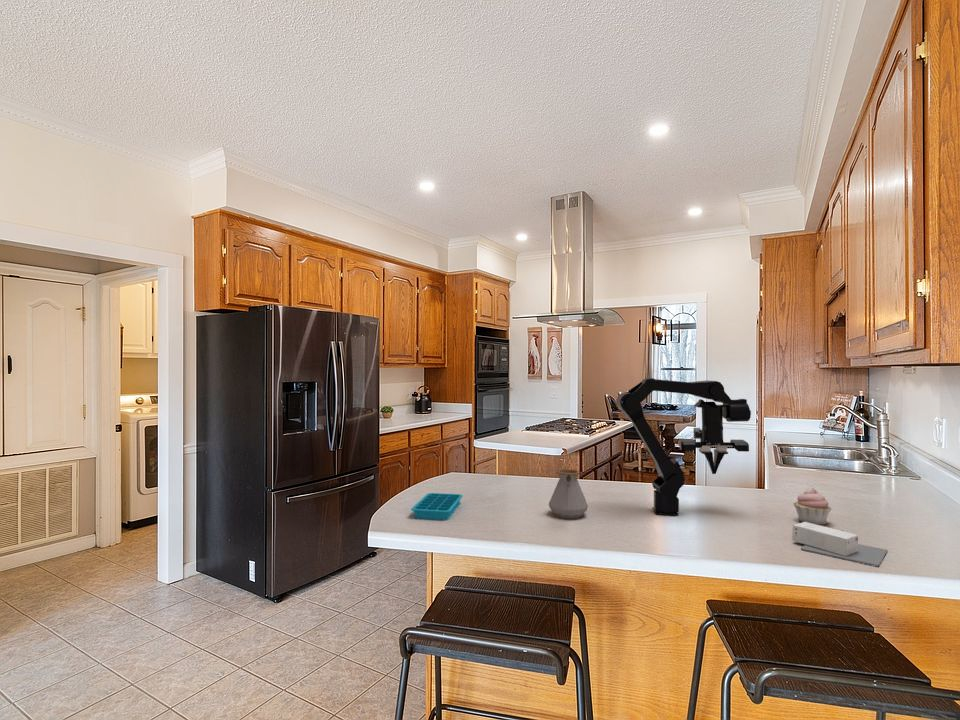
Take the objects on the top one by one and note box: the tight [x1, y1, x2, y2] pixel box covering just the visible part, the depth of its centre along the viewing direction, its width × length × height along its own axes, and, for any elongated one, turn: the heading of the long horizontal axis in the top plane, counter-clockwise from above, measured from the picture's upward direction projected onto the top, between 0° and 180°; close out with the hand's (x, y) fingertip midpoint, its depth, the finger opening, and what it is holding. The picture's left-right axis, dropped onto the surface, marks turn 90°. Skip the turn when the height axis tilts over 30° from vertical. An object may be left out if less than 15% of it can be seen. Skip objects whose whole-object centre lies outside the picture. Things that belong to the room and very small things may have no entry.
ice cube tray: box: [410, 492, 463, 521], centre depth 157 cm, size 12×20×3 cm, turn 171°
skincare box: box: [791, 522, 859, 556], centre depth 126 cm, size 6×4×12 cm
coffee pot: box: [548, 469, 589, 519], centre depth 149 cm, size 21×12×15 cm, turn 170°
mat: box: [800, 543, 888, 567], centre depth 125 cm, size 15×14×1 cm
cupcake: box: [792, 487, 833, 526], centre depth 148 cm, size 9×9×10 cm
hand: (713, 473), depth 156 cm, fingers closed
